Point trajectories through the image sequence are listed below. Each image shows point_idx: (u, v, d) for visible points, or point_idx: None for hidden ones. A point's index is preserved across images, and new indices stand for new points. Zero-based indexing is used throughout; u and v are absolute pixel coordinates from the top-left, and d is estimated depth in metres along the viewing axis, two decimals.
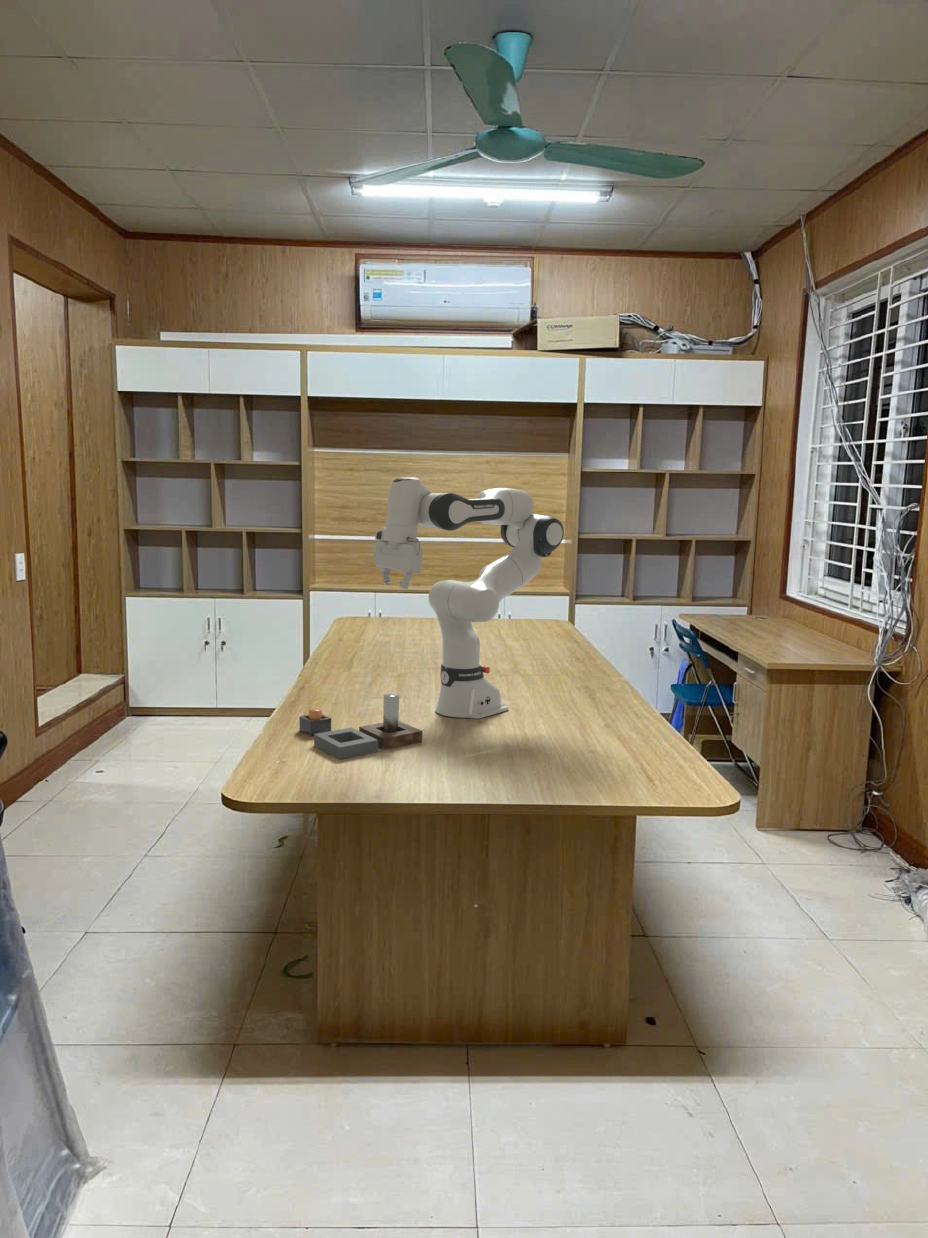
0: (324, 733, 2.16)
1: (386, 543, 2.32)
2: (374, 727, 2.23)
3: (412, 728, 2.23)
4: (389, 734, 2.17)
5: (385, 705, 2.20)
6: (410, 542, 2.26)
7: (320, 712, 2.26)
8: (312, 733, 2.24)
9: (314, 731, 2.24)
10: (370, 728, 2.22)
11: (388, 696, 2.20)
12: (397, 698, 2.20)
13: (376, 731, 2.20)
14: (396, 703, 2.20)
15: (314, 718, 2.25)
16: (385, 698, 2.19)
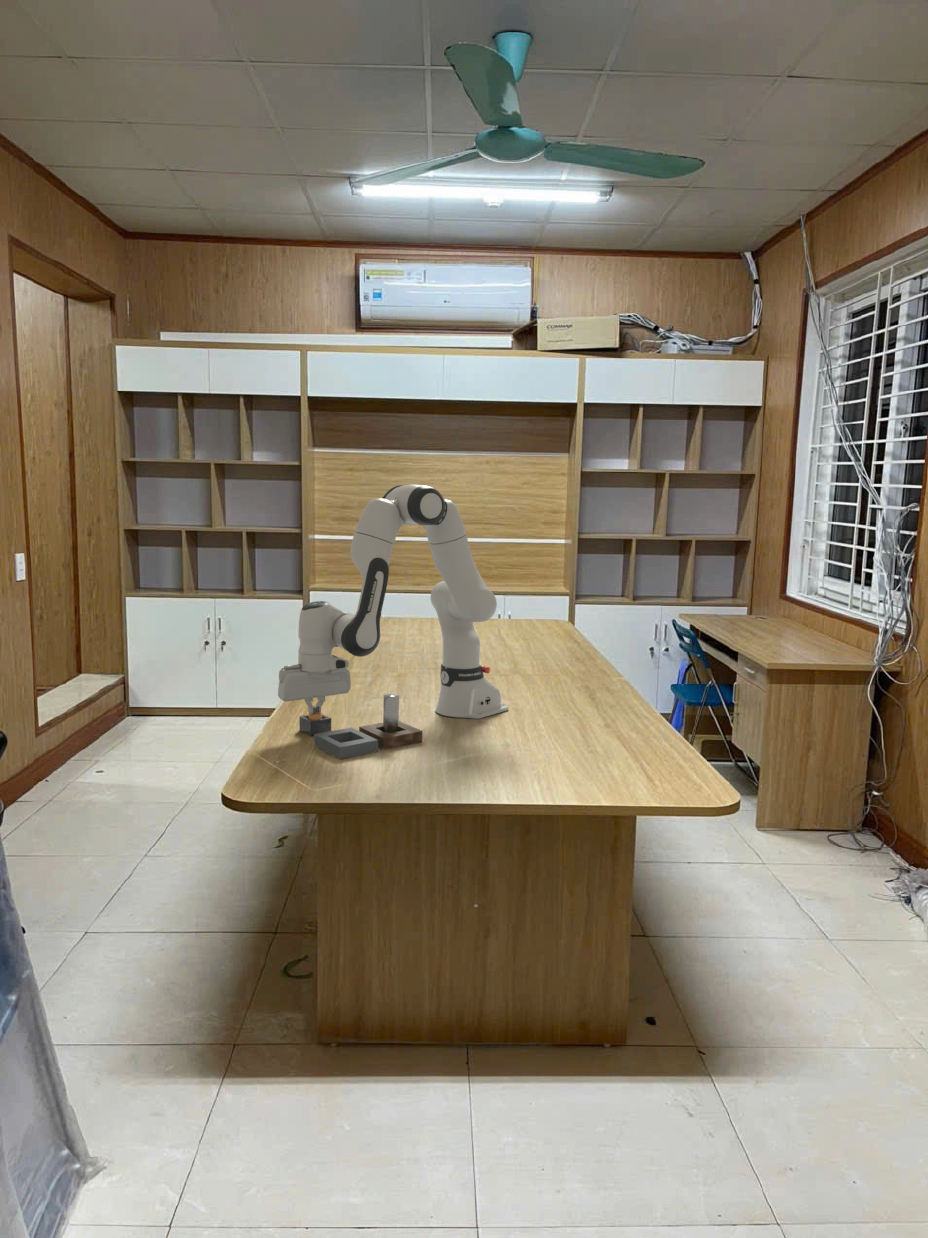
0: (324, 733, 2.16)
1: None
2: (374, 727, 2.23)
3: (412, 728, 2.23)
4: (389, 734, 2.17)
5: (385, 705, 2.20)
6: None
7: (320, 715, 2.26)
8: (312, 733, 2.24)
9: (314, 731, 2.24)
10: (370, 728, 2.22)
11: (388, 696, 2.20)
12: (397, 698, 2.20)
13: (376, 731, 2.20)
14: (396, 703, 2.20)
15: None
16: (385, 698, 2.19)
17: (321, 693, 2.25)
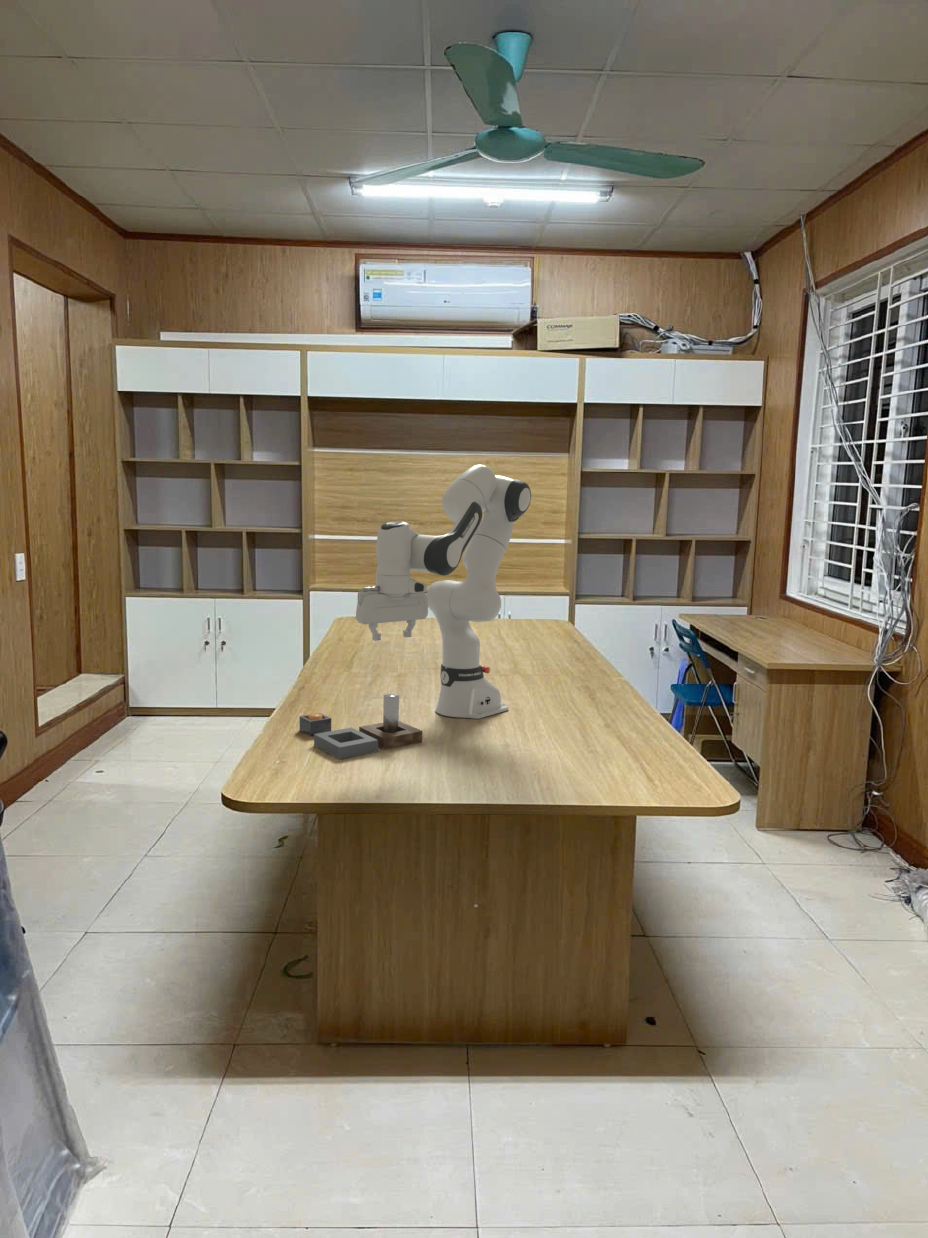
0: (324, 733, 2.16)
1: None
2: (374, 727, 2.23)
3: (412, 728, 2.23)
4: (389, 734, 2.17)
5: (385, 705, 2.20)
6: None
7: (320, 717, 2.26)
8: (312, 733, 2.24)
9: (314, 731, 2.24)
10: (370, 728, 2.22)
11: (388, 696, 2.20)
12: (397, 698, 2.20)
13: (376, 731, 2.20)
14: (396, 703, 2.20)
15: None
16: (385, 698, 2.19)
17: (399, 617, 2.17)
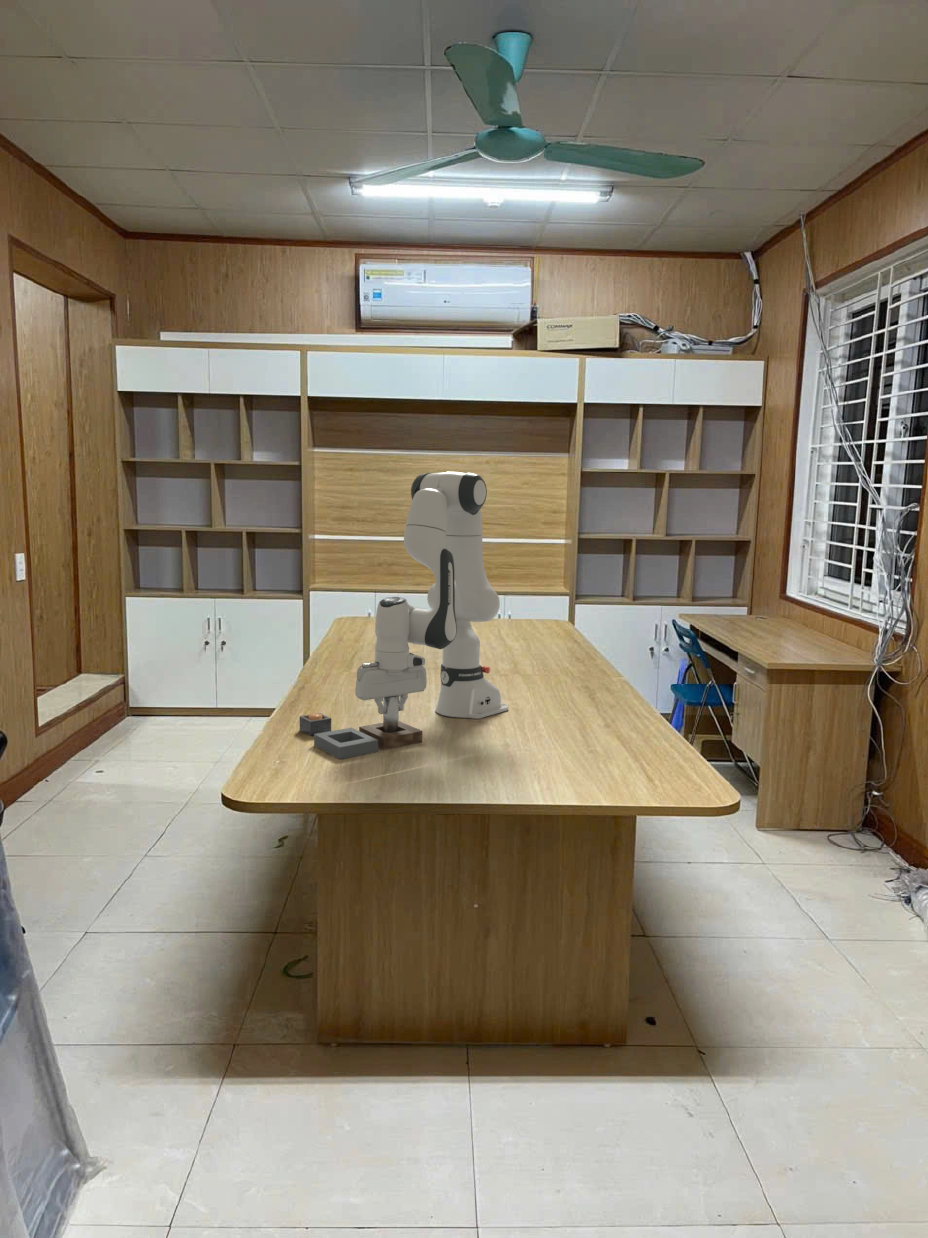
0: (324, 733, 2.16)
1: None
2: (374, 727, 2.23)
3: (412, 728, 2.23)
4: (389, 734, 2.17)
5: (385, 705, 2.20)
6: None
7: (320, 717, 2.26)
8: (312, 733, 2.24)
9: (314, 731, 2.24)
10: (370, 728, 2.22)
11: None
12: (397, 698, 2.20)
13: (376, 731, 2.20)
14: (396, 703, 2.20)
15: None
16: (385, 698, 2.19)
17: (398, 691, 2.20)
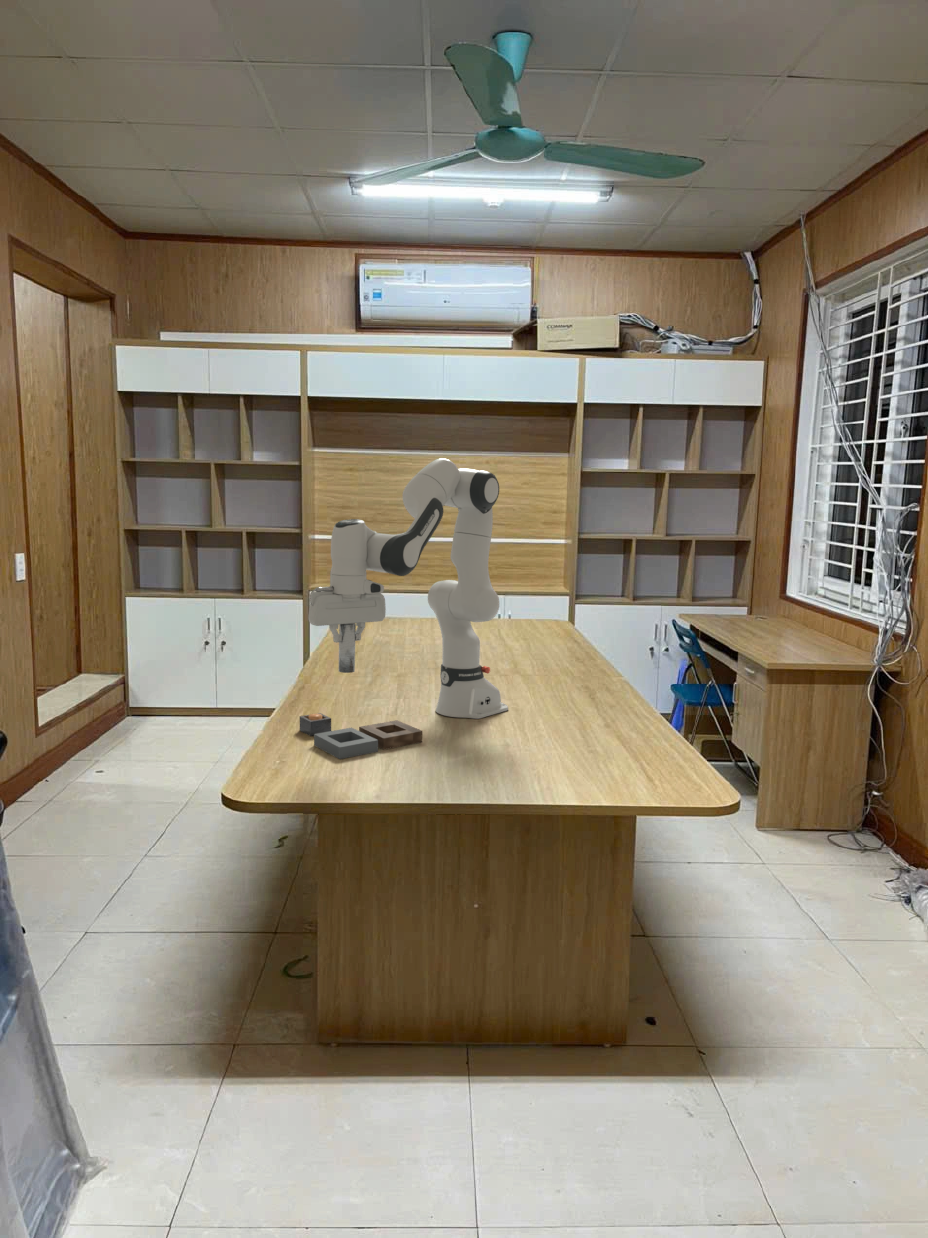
0: (324, 733, 2.16)
1: None
2: (374, 727, 2.23)
3: (412, 728, 2.23)
4: (389, 734, 2.17)
5: (341, 633, 2.08)
6: None
7: (320, 717, 2.26)
8: (312, 733, 2.24)
9: (314, 731, 2.24)
10: (370, 728, 2.22)
11: (344, 624, 2.08)
12: (353, 626, 2.08)
13: (376, 731, 2.20)
14: (352, 631, 2.08)
15: None
16: (341, 626, 2.08)
17: (354, 619, 2.08)
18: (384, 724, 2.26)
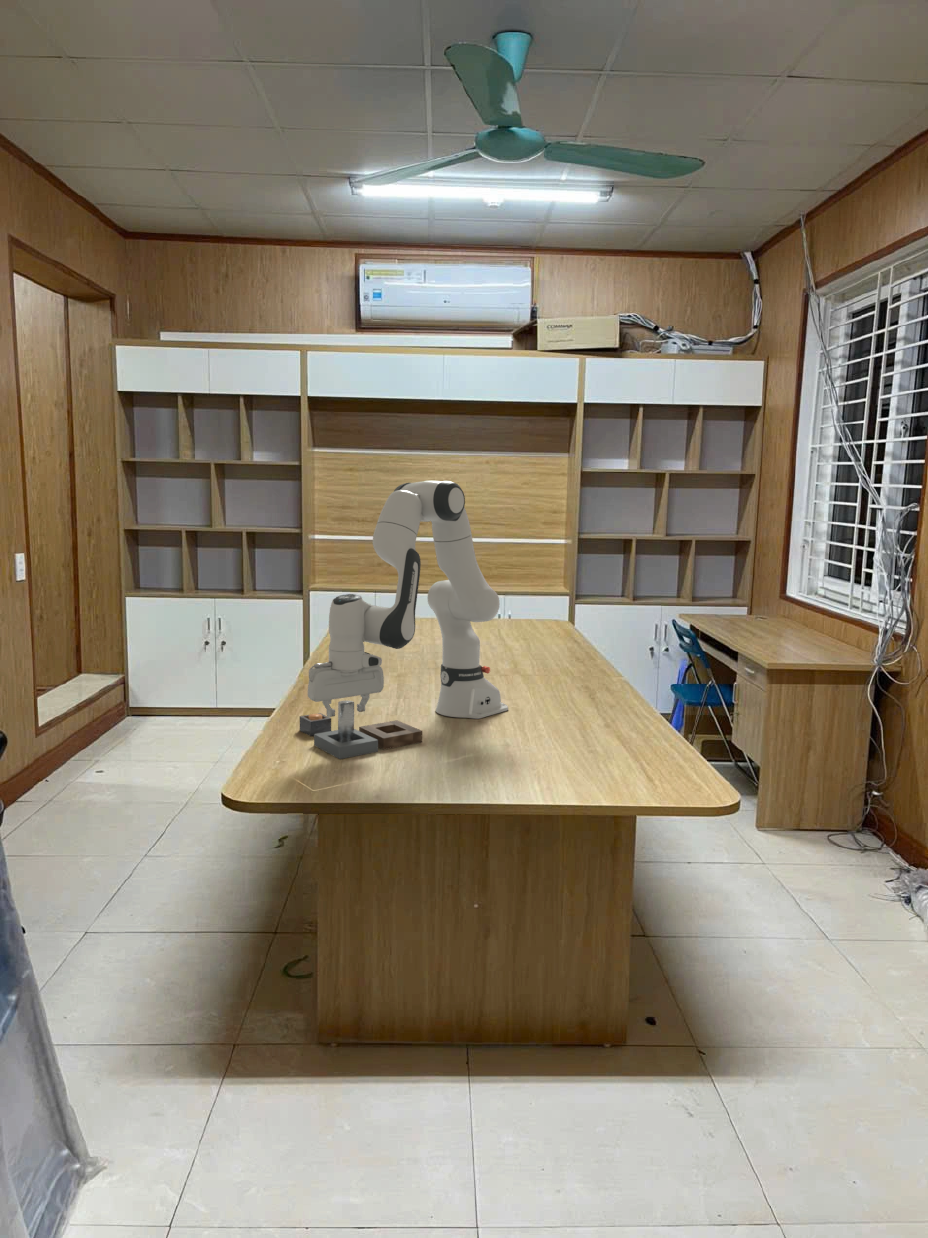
0: (324, 733, 2.16)
1: None
2: (374, 727, 2.23)
3: (412, 728, 2.23)
4: (389, 734, 2.17)
5: (340, 712, 2.12)
6: None
7: (320, 717, 2.26)
8: (312, 733, 2.24)
9: (314, 731, 2.24)
10: (370, 728, 2.22)
11: (343, 703, 2.12)
12: (352, 705, 2.12)
13: (376, 731, 2.20)
14: (351, 710, 2.12)
15: None
16: (339, 705, 2.11)
17: (353, 692, 2.11)
18: (384, 724, 2.26)
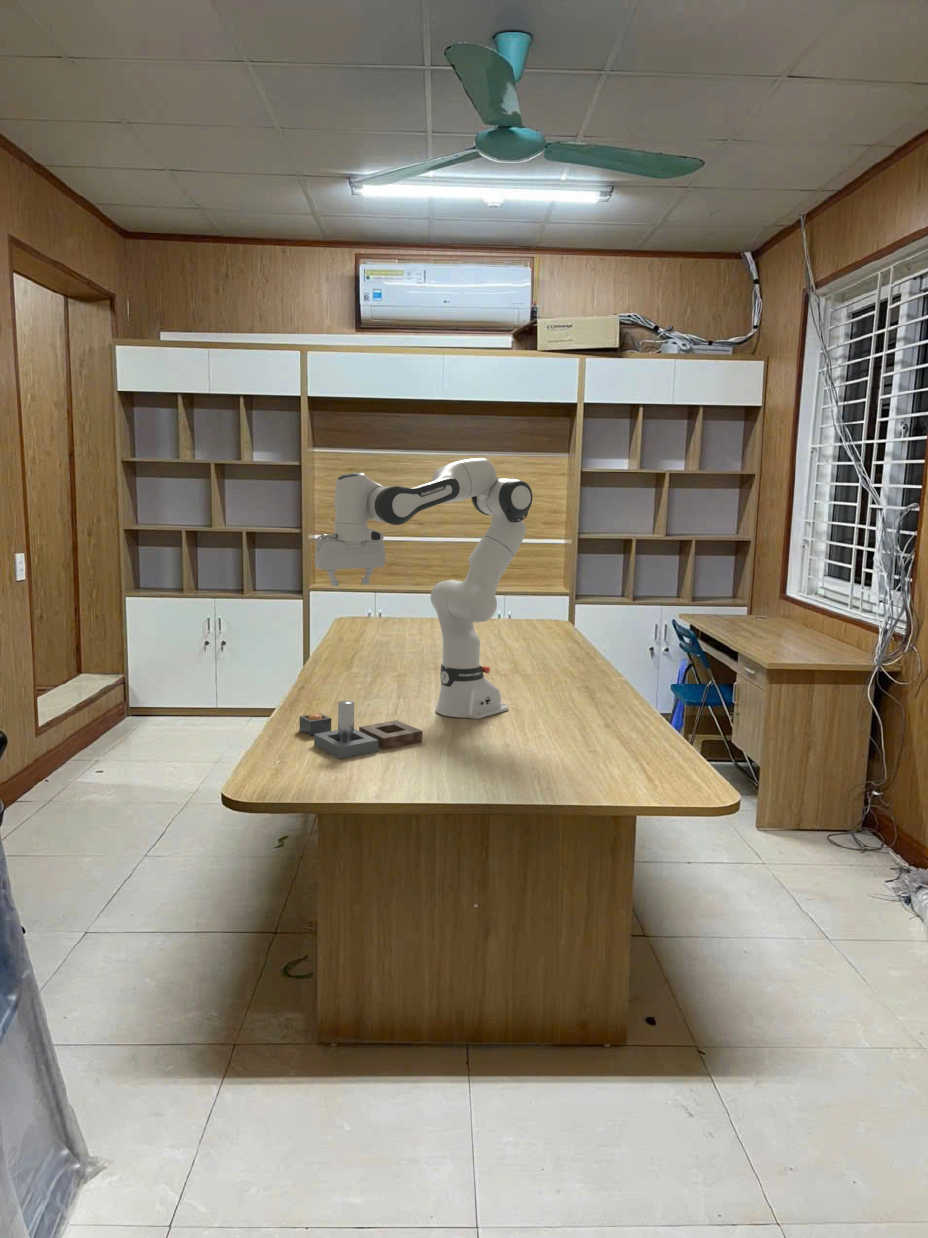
0: (324, 733, 2.16)
1: None
2: (374, 727, 2.23)
3: (412, 728, 2.23)
4: (389, 734, 2.17)
5: (339, 712, 2.12)
6: None
7: (320, 717, 2.26)
8: (312, 733, 2.24)
9: (314, 731, 2.24)
10: (370, 728, 2.22)
11: (343, 703, 2.12)
12: (352, 705, 2.12)
13: (376, 731, 2.20)
14: (351, 710, 2.12)
15: None
16: (339, 705, 2.11)
17: (357, 564, 2.27)
18: (384, 724, 2.26)
